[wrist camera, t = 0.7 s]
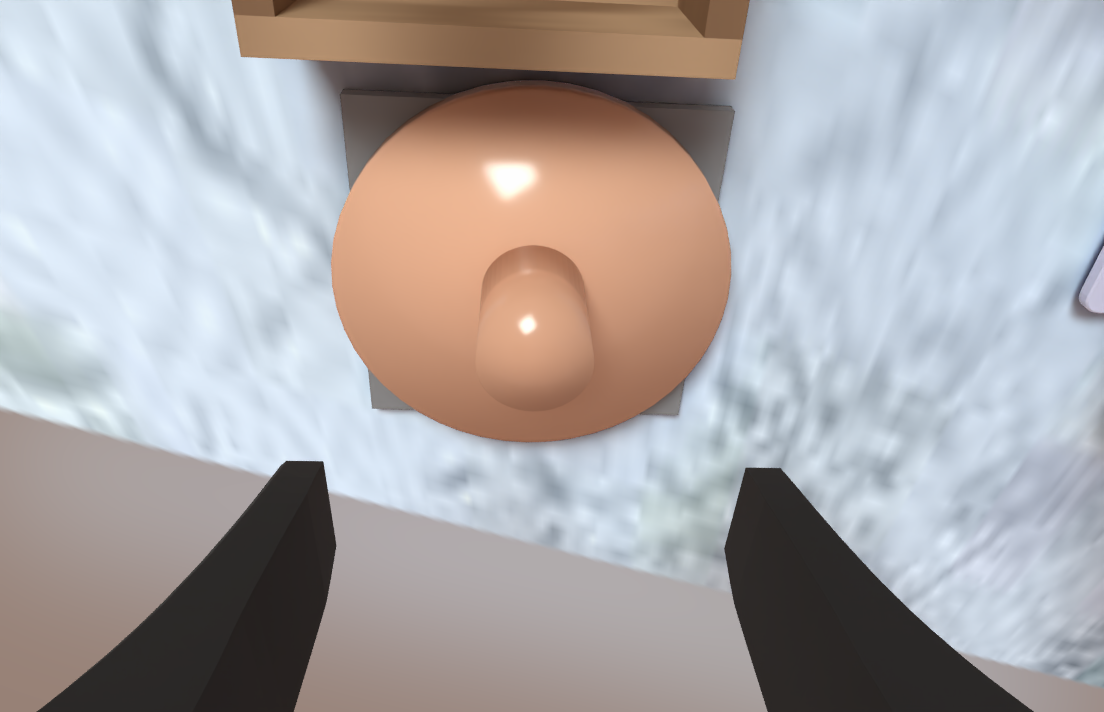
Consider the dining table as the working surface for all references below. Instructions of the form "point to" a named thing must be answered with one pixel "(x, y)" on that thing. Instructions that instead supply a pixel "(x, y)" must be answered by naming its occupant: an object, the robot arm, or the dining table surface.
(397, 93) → the mat
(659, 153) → the lid
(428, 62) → the wooden open tray
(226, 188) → the dining table surface
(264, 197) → the dining table surface
